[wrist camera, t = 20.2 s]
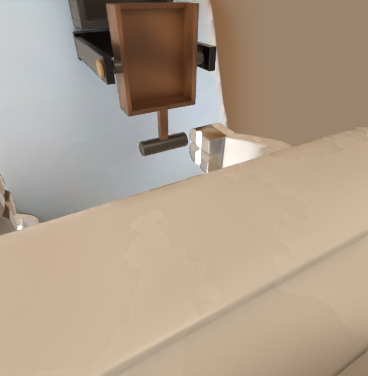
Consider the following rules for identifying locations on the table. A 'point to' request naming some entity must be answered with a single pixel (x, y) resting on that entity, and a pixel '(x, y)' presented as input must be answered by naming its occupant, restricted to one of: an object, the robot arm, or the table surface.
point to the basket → (96, 12)
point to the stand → (102, 52)
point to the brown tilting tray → (155, 62)
